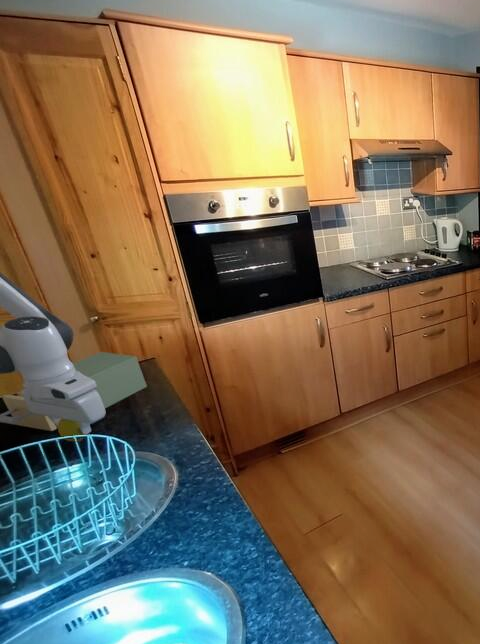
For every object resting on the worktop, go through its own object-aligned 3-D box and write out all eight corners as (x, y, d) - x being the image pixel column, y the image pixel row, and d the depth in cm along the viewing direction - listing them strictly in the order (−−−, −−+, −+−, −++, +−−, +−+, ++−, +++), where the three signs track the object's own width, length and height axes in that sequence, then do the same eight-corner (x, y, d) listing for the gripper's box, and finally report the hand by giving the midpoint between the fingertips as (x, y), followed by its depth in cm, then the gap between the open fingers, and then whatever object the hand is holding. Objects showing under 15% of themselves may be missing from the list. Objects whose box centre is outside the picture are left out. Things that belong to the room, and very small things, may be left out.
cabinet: (94, 413, 127) (80, 380, 123) (58, 407, 130) (42, 375, 126) (147, 386, 141) (136, 356, 137) (112, 381, 144) (100, 351, 140)
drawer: (29, 442, 114) (13, 413, 110) (-7, 435, 116) (-24, 406, 113) (108, 402, 131) (97, 375, 127) (75, 397, 134) (63, 371, 130)
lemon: (59, 446, 113) (46, 419, 109) (83, 433, 118) (71, 407, 114) (76, 449, 111) (63, 422, 108) (99, 436, 116) (88, 410, 113)
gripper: (5, 383, 107) (29, 432, 113) (72, 394, 103) (93, 444, 108) (36, 371, 113) (57, 418, 118) (100, 381, 109) (119, 429, 114)
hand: (75, 430), depth 113 cm, fingers closed on lemon, 5 cm apart
